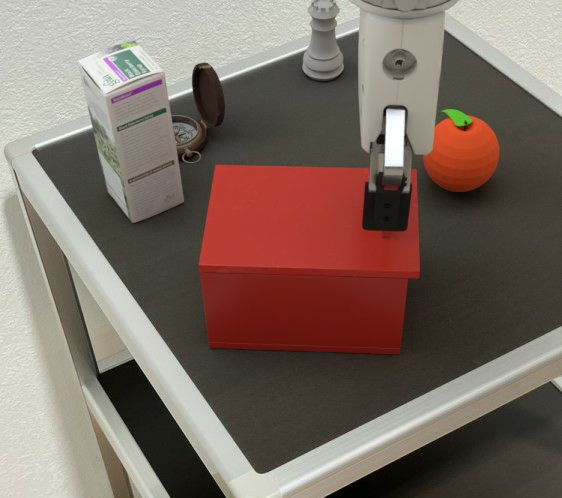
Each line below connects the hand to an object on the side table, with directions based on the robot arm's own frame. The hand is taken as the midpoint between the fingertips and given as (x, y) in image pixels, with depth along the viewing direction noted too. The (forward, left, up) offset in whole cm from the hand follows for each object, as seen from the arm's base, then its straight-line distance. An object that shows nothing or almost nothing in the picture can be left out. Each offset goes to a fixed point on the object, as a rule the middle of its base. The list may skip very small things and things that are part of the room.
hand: (384, 183), depth 72 cm
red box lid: (+5, 0, -4) cm, 7 cm away
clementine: (-7, -16, -13) cm, 22 cm away
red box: (+6, 0, -13) cm, 14 cm away
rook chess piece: (+6, -34, -13) cm, 37 cm away
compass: (+19, -21, -13) cm, 31 cm away
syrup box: (+22, -13, -13) cm, 28 cm away
